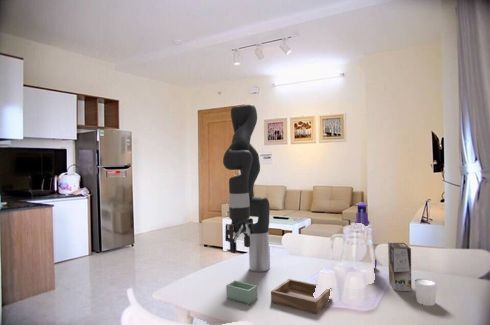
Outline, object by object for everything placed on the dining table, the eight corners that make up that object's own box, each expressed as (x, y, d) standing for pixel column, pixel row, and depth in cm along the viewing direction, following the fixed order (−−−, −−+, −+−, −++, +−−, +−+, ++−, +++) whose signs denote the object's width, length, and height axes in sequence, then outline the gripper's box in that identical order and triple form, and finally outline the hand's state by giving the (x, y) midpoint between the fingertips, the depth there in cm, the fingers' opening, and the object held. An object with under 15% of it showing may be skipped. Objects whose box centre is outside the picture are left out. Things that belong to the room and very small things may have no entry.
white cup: (410, 298, 118) (410, 278, 118) (429, 297, 119) (428, 277, 119) (422, 307, 111) (422, 286, 111) (442, 305, 112) (441, 285, 112)
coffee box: (412, 291, 124) (411, 248, 124) (393, 290, 125) (393, 248, 125) (405, 282, 133) (404, 242, 132) (388, 281, 134) (387, 241, 134)
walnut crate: (289, 289, 129) (289, 278, 129) (331, 298, 120) (331, 287, 120) (271, 302, 118) (270, 291, 118) (316, 314, 108) (316, 302, 108)
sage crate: (235, 293, 126) (235, 280, 126) (257, 299, 121) (257, 285, 121) (226, 298, 122) (226, 285, 122) (249, 305, 116) (248, 290, 116)
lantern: (350, 262, 160) (348, 199, 159) (376, 264, 156) (374, 200, 155) (349, 271, 147) (347, 203, 147) (377, 273, 143) (375, 204, 143)
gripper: (242, 202, 129) (243, 243, 129) (218, 207, 117) (220, 253, 117) (258, 203, 125) (259, 246, 125) (235, 208, 113) (237, 256, 113)
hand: (240, 249), depth 121 cm, fingers open, 8 cm apart
